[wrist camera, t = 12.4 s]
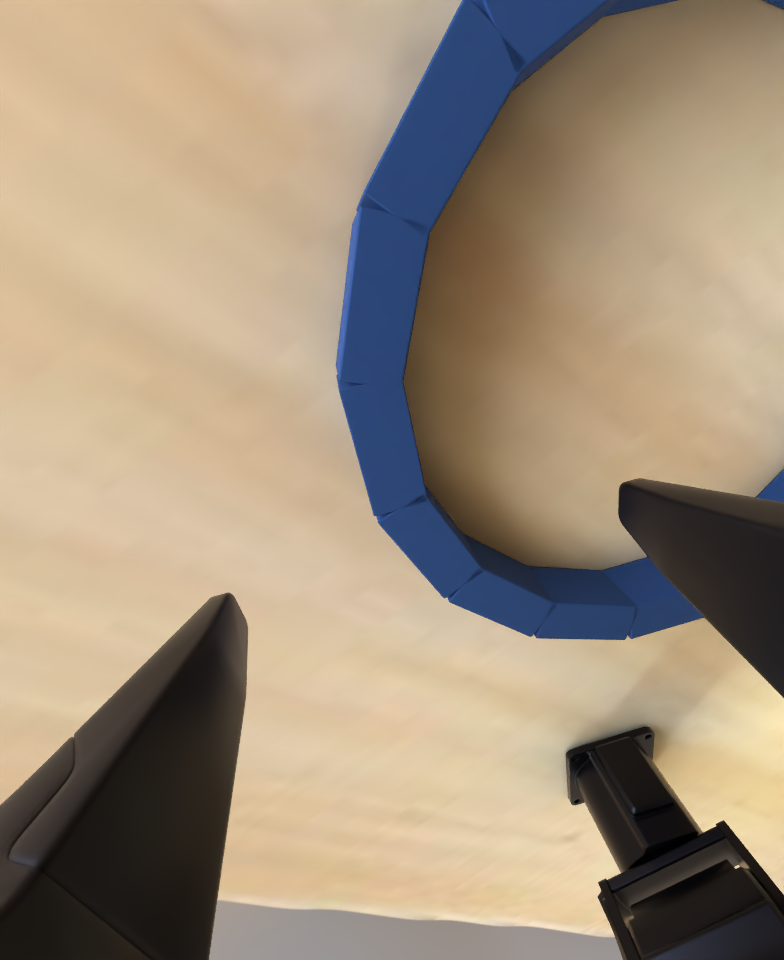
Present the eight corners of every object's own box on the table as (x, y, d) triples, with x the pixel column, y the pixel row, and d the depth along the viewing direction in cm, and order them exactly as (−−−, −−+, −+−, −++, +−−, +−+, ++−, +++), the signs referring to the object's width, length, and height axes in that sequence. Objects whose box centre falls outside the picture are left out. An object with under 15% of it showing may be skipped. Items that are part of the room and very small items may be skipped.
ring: (850, 527, 25) (914, 556, 22) (413, 653, 24) (425, 700, 21) (1072, -181, 13) (1265, -303, 10) (231, -4, 12) (204, -91, 9)
